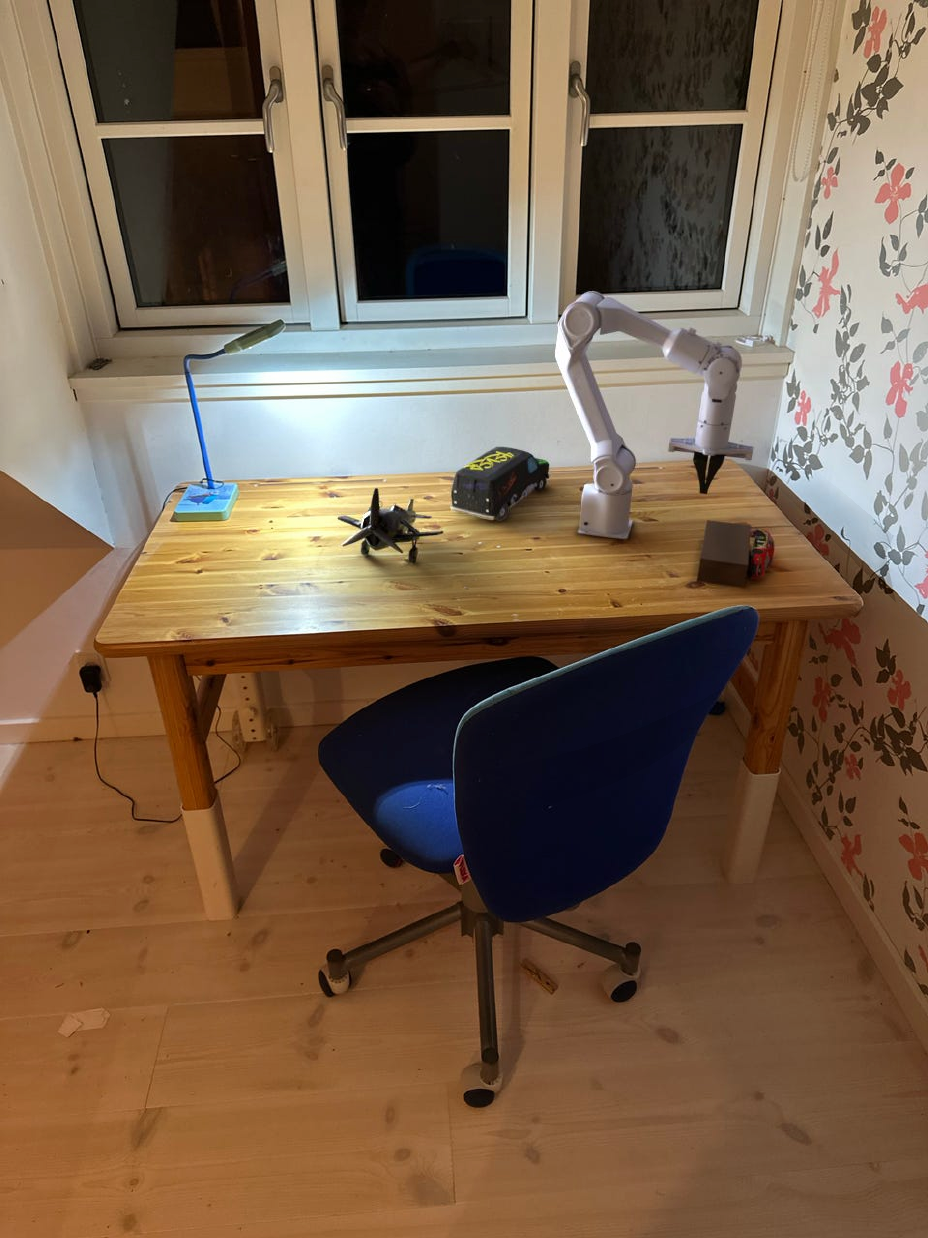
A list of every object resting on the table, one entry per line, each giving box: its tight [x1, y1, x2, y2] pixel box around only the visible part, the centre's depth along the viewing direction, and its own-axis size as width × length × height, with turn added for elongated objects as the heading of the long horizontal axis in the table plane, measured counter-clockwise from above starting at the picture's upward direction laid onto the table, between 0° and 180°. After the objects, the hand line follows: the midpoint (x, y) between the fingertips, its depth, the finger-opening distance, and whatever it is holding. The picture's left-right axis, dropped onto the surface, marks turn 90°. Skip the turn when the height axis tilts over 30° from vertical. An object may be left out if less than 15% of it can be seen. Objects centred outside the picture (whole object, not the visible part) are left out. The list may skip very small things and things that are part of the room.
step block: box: [696, 519, 752, 588], centre depth 151 cm, size 8×16×4 cm, turn 162°
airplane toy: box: [337, 487, 444, 565], centre depth 153 cm, size 20×19×15 cm
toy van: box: [450, 446, 551, 522], centre depth 174 cm, size 11×25×10 cm, turn 148°
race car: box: [747, 528, 776, 580], centre depth 149 cm, size 13×5×4 cm
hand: (703, 491), depth 154 cm, fingers closed
